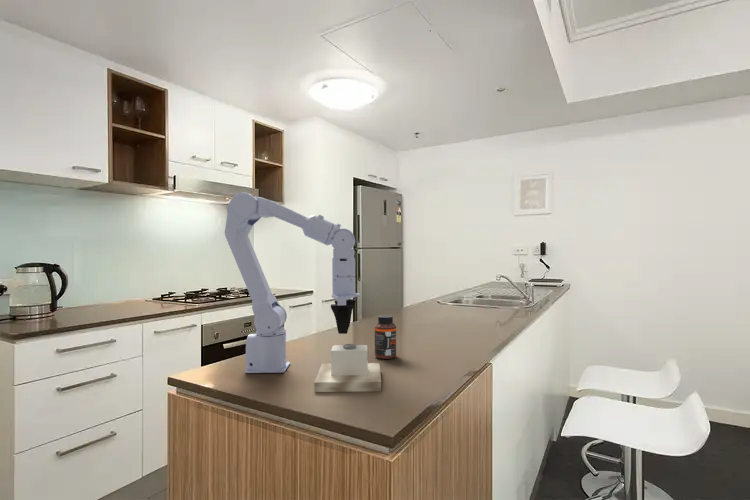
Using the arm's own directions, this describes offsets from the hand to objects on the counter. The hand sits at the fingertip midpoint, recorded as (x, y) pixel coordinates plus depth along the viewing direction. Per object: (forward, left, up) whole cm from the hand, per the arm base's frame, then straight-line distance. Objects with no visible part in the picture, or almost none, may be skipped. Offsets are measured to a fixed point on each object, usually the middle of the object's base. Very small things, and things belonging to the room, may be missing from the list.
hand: (344, 330), depth 103 cm
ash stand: (+2, -11, -9) cm, 14 cm away
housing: (+2, -10, -7) cm, 13 cm away
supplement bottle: (+11, +9, -10) cm, 17 cm away
